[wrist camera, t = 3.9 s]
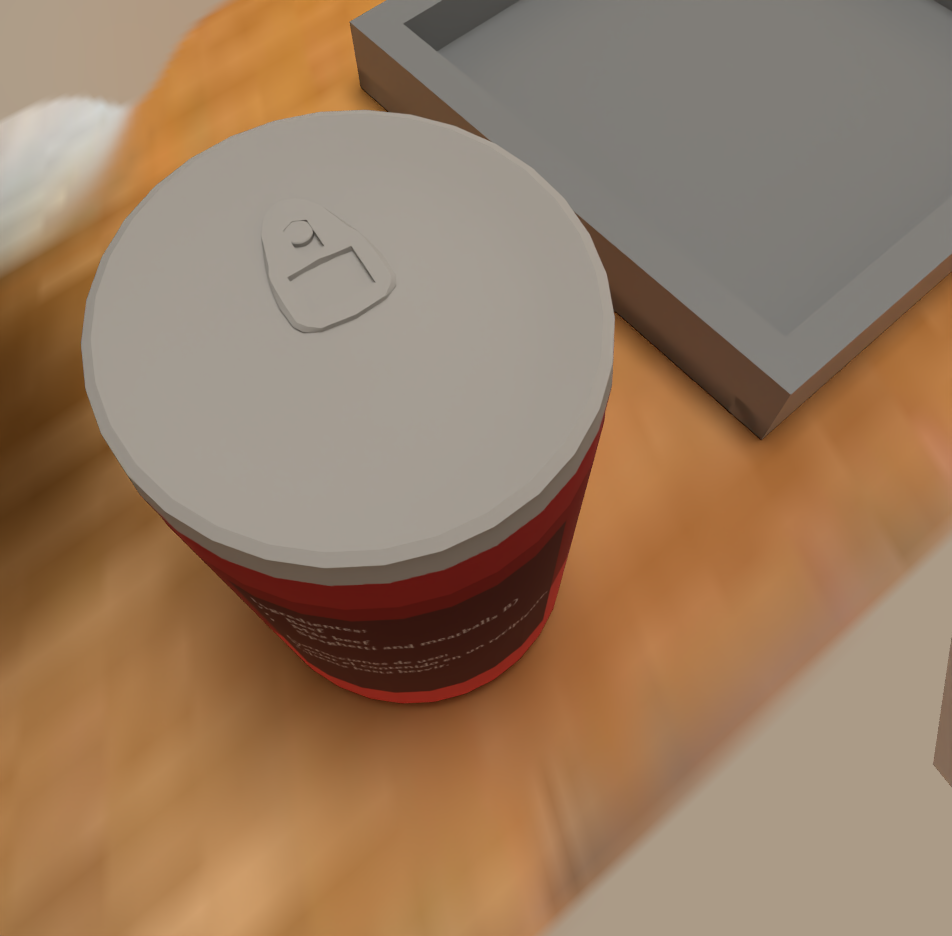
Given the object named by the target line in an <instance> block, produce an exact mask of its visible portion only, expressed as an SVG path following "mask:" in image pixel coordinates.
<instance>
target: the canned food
mask: <svg viewBox="0 0 952 936" xmlns="http://www.w3.org/2000/svg"><path fill="white" fill-rule="evenodd" d="M614 325H615V316H614V311H613V305H612V300H611V295H610V289H609V284H608V278H607V274H606V271H605V269H604V267H603V264H602V262H601V260H600V257H599V255H598V253H597V250H596V248H595V246H594V243H593V241H592V239H591V236H590V234H589V233H588V231H587V230H586V228H585V227H584V226H583V224H582V223H581V221H580V220H579V218H578V217H577V216H576V214H575V213H574V211H573V210H572V208H571V207H570V206H569V204H568V203H567V201H566V200H565V199H564V198H563V197H562V196H561V195H560V194H559V193H558V192H557V191H556V190H555V189H554V188H553V187H552V186H551V185H550V184H549V183H548V182H547V181H546V180H545V179H544V178H543V177H541V176H540V175H539V174H538V173H537V172H536V171H535V170H534V169H533V168H532V167H530V166H529V165H527V164H526V163H524V162H523V161H521V160H520V159H518V158H517V157H515V156H513V155H512V154H510V153H509V152H507V151H506V150H504V149H503V148H501V147H500V146H498V145H497V144H495V143H493V142H490V141H488V140H486V139H484V138H481V137H479V136H477V135H474V134H472V133H470V132H468V131H465V130H463V129H461V128H458V127H456V126H453V125H449V124H446V123H442V122H438V121H434V120H430V119H426V118H422V117H418V116H415V115H411V114H401V113H391V112H381V111H371V110H352V111H331V112H317V113H312V114H307V115H302V116H297V117H292V118H287V119H282V120H276V121H273V122H270V123H267V124H264V125H262V126H259V127H256V128H253V129H250V130H248V131H245V132H242V133H239V134H236V135H234V136H231V137H229V138H227V139H225V140H224V141H222V142H220V143H218V144H216V145H214V146H213V147H211V148H209V149H207V150H205V151H203V152H201V153H200V154H198V155H196V156H194V157H192V158H191V159H189V160H188V161H187V162H186V163H184V164H183V165H182V166H180V167H179V168H178V169H176V170H175V171H174V172H173V173H171V174H170V175H169V176H167V177H166V178H165V179H164V180H162V181H161V182H160V183H158V184H157V185H156V186H155V187H154V188H153V189H152V190H151V191H150V192H149V193H148V195H147V196H146V197H145V198H144V199H143V200H142V201H141V202H140V203H139V204H138V206H137V207H136V208H135V209H134V210H133V211H132V212H131V213H130V214H129V215H128V217H127V218H126V219H125V220H124V222H123V223H122V225H121V227H120V228H119V230H118V232H117V233H116V235H115V237H114V238H113V240H112V241H111V243H110V245H109V246H108V248H107V250H106V251H105V253H104V255H103V256H102V258H101V261H100V264H99V266H98V269H97V272H96V275H95V278H94V280H93V283H92V286H91V289H90V291H89V294H88V297H87V300H86V308H85V316H84V324H83V331H82V339H81V350H82V360H83V369H84V379H85V389H86V392H87V395H88V398H89V401H90V404H91V406H92V409H93V412H94V415H95V418H96V421H97V424H98V426H99V429H100V432H101V434H102V436H103V438H104V439H105V441H106V442H107V444H108V445H109V447H110V448H111V450H112V452H113V454H114V455H115V457H116V458H117V460H118V462H119V463H120V465H121V466H122V468H123V469H124V471H125V472H126V474H127V476H128V477H129V479H130V480H131V482H132V483H133V485H134V486H135V488H136V490H137V491H138V493H139V494H140V495H141V496H142V497H143V498H144V500H145V501H146V502H147V503H148V504H149V505H150V506H151V507H152V508H153V509H154V510H155V511H156V512H157V513H158V514H159V515H160V516H161V517H162V519H163V520H164V521H165V523H166V524H167V525H168V526H169V527H170V528H171V529H172V530H173V531H174V532H175V533H176V534H177V535H178V536H179V537H180V538H181V539H182V540H183V541H184V542H185V543H186V544H187V545H188V546H189V547H190V548H191V549H192V550H193V551H194V552H195V553H196V554H197V555H198V556H199V557H200V558H201V559H202V560H203V561H204V562H205V563H206V564H207V565H208V566H209V567H210V568H211V569H212V570H213V571H214V572H215V573H216V574H217V575H218V576H219V577H220V578H221V579H222V580H223V581H224V582H225V583H226V584H227V585H228V586H229V587H230V588H231V589H232V590H233V591H234V592H235V593H236V594H237V595H238V596H239V597H240V598H241V599H242V600H243V601H244V602H245V603H246V604H247V605H248V606H249V607H250V608H251V609H252V610H253V611H254V612H255V613H256V614H257V615H258V616H259V617H260V618H261V619H262V620H263V621H264V622H265V623H266V624H267V625H268V626H269V627H270V628H271V629H272V630H273V631H274V632H275V633H276V634H277V635H278V636H279V637H280V638H281V639H282V640H283V641H284V642H285V643H286V644H287V645H288V646H289V647H290V648H291V649H292V650H293V651H294V652H295V653H296V654H297V655H298V656H299V657H300V658H301V659H302V660H303V661H304V662H305V663H306V664H307V665H308V666H309V667H310V668H311V669H312V670H314V671H315V672H317V673H319V674H320V675H322V676H323V677H325V678H326V679H328V680H330V681H331V682H333V683H334V684H336V685H337V686H339V687H341V688H344V689H346V690H349V691H352V692H354V693H357V694H360V695H362V696H365V697H368V698H371V699H377V700H384V701H390V702H396V703H420V702H435V701H439V700H443V699H447V698H451V697H455V696H458V695H462V694H466V693H468V692H470V691H472V690H474V689H476V688H478V687H480V686H482V685H484V684H486V683H488V682H490V681H492V680H494V679H495V678H497V677H498V676H499V675H500V674H502V673H503V672H504V671H505V670H507V669H508V668H509V667H510V666H512V665H513V664H514V663H516V662H517V661H518V660H519V659H520V658H521V657H522V656H523V654H524V653H525V652H526V651H527V650H528V648H529V647H530V646H531V645H532V644H533V642H534V641H535V640H536V639H537V637H538V636H539V635H540V633H541V631H542V629H543V627H544V625H545V623H546V621H547V619H548V618H549V616H550V614H551V612H552V610H553V608H554V604H555V601H556V597H557V593H558V590H559V586H560V583H561V579H562V576H563V572H564V568H565V564H566V561H567V557H568V553H569V550H570V546H571V542H572V539H573V535H574V531H575V527H576V524H577V520H578V516H579V513H580V509H581V505H582V502H583V498H584V494H585V490H586V487H587V483H588V479H589V476H590V472H591V468H592V465H593V461H594V457H595V453H596V450H597V446H598V442H599V439H600V435H601V431H602V428H603V424H604V419H605V410H606V406H607V403H608V399H609V395H610V391H611V387H612V374H613V353H614Z"/></svg>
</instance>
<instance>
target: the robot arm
mask: <svg viewBox="0 0 952 936" xmlns="http://www.w3.org/2000/svg"><path fill="white" fill-rule="evenodd" d="M933 765H934V766H935V767H936V769H937V770H938V771H939V772H940V774H941V775H942V776H943V777H944V778H945V780H946V781H947V782H948V783H949V785H950V786H951V787H952V639H951V645H950V652H949V659H948V666H947V673H946V680H945V686H944V693H943V700H942V707H941V714H940V721H939V727H938V734H937V742H936V748H935V755H934V762H933Z"/></svg>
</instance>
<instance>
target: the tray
mask: <svg viewBox="0 0 952 936" xmlns="http://www.w3.org/2000/svg"><path fill="white" fill-rule="evenodd" d="M350 27H351V33H352V39H353V44H354V50H355V56H356V62H357V68H358V74H359V80H360V86H361V88H362V89H364V90H365V91H366V92H367V93H368V94H369V95H370V96H372V97H373V98H374V99H375V100H376V101H377V102H378V103H379V104H381V105H382V106H383V107H384V108H385V109H386V110H387V111H389V112H391V113H401V114H411V115H415V116H418V117H422V118H426V119H430V120H434V121H438V122H442V123H446V124H449V125H453V126H456V127H458V128H461V129H463V130H465V131H468V132H470V133H472V134H474V135H477V136H479V137H481V138H484V139H486V140H488V141H490V142H493V143H495V144H497V145H498V146H500V147H501V148H503V149H504V150H506V151H507V152H509V153H510V154H512V155H513V156H515V157H517V158H518V159H520V160H521V161H523V162H524V163H526V164H527V165H529V166H530V167H532V168H533V169H534V170H535V171H536V172H537V173H538V174H539V175H540V176H541V177H543V178H544V179H545V180H546V181H547V182H548V183H549V184H550V185H551V186H552V187H553V188H554V189H555V190H556V191H557V192H558V193H559V194H560V195H561V196H562V197H563V198H564V199H565V200H566V201H567V203H568V204H569V206H570V207H571V208H572V210H573V211H574V213H575V214H576V216H577V217H578V218H579V220H580V221H581V223H582V224H583V226H584V227H585V228H586V230H587V231H588V233H589V234H590V236H591V239H592V241H593V243H594V246H595V248H596V250H597V253H598V255H599V257H600V260H601V262H602V264H603V267H604V269H605V271H606V274H607V278H608V284H609V289H610V295H611V300H612V305H613V309H614V310H615V311H616V312H617V313H618V314H619V315H620V316H621V317H623V318H624V319H625V320H626V321H627V322H628V323H629V324H631V325H632V326H633V327H634V328H635V329H636V330H637V331H639V332H640V333H641V334H642V335H643V336H644V337H645V338H646V339H648V340H649V341H650V342H651V343H652V344H653V345H654V346H656V347H657V348H658V349H659V350H660V351H661V352H662V353H664V354H665V355H666V356H667V357H668V358H669V359H670V360H671V361H673V362H674V363H675V364H676V365H677V366H678V367H679V368H681V369H682V370H683V371H684V372H685V373H686V374H687V375H689V376H690V377H691V378H692V379H693V380H694V381H695V382H696V383H698V384H699V385H700V386H701V387H702V388H703V389H704V390H706V391H707V392H708V393H709V394H710V395H711V396H712V397H714V398H715V399H716V400H717V401H718V402H719V403H720V404H721V405H723V406H724V407H725V408H726V409H727V410H728V411H729V412H731V413H732V414H733V415H734V416H735V417H736V418H737V419H739V420H740V421H741V422H742V423H743V424H744V425H745V426H746V427H748V428H749V429H750V430H751V431H752V432H753V433H754V434H756V435H757V436H758V437H759V438H760V439H761V440H762V439H763V438H764V437H765V436H766V435H768V434H769V433H770V432H771V431H772V430H773V429H774V428H775V427H777V426H778V425H779V424H780V423H781V422H782V421H783V420H784V419H786V418H787V417H788V416H789V415H790V414H791V413H792V412H793V411H795V410H796V409H797V408H798V407H799V406H800V405H801V404H802V403H804V402H805V401H806V400H807V399H808V398H809V397H810V396H812V395H813V394H814V393H815V392H816V391H817V390H818V389H819V388H821V387H822V386H823V385H824V384H825V383H826V382H827V381H828V380H830V379H831V378H832V377H833V376H834V375H835V374H836V373H837V372H839V371H840V370H841V369H842V368H843V367H844V366H845V365H846V364H848V363H849V362H850V361H851V360H852V359H853V358H854V357H856V356H857V355H858V354H859V353H860V352H861V351H862V350H863V349H865V348H866V347H867V346H868V345H869V344H870V343H871V342H872V341H874V340H875V339H876V338H877V337H878V336H879V335H880V334H881V333H883V332H884V331H885V330H886V329H887V328H888V327H889V326H890V325H892V324H893V323H894V322H895V321H896V320H897V319H898V318H900V317H901V316H902V315H903V314H904V313H905V312H906V311H907V310H909V309H910V308H911V307H912V306H913V305H914V304H915V303H916V302H918V301H919V300H920V299H921V298H922V297H923V296H924V295H925V294H927V293H928V292H929V291H930V290H931V289H932V288H933V287H935V286H936V285H937V284H938V283H939V282H940V281H941V280H942V279H944V278H945V277H946V276H947V275H948V274H949V273H950V272H951V271H952V0H386V1H384V2H383V3H381V4H379V5H378V6H376V7H374V8H372V9H371V10H369V11H367V12H366V13H364V14H362V15H360V16H359V17H357V18H355V19H354V20H352V21H350Z"/></svg>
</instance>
